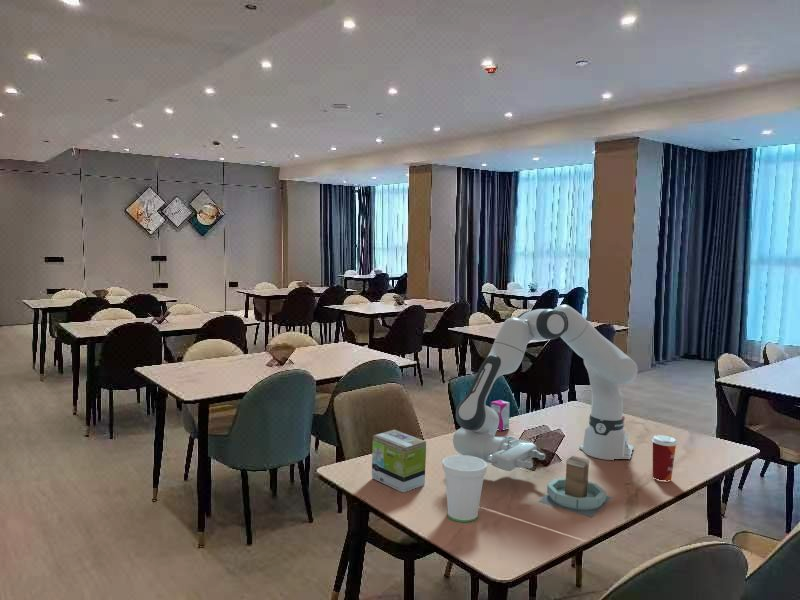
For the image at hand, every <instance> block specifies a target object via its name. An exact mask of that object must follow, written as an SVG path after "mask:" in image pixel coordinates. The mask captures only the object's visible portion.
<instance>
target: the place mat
mask: <svg viewBox="0 0 800 600" xmlns="http://www.w3.org/2000/svg"><path fill="white" fill-rule="evenodd" d="M612 498H613V497H612V496H609V495H606V500H605V501H604V502H603V503H602V506H601V507H600V508H598V509H595V510H574V509H569V508H566V507H563V506H560V505H558V504H556V503H555V502H553V501H552V500H551V499H550V495H549V494H548V493H547V494H546V495H545V496H544V497H542V498H541V499H540V500H539V501H538V503H541V504H545V505H548V506H551V507H555V508H558V509H561V510H564V511H568V512H571V513H575V514H579V515H581V516H584V517H588V518H593V517H594V516H595V515H596V514H597V513H598V512H600V510H601V509H602V508H603V507H604V506H605V505H606V504H607V503H608V502H609V501H610V500H611V499H612Z"/></svg>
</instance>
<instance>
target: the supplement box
mask: <svg viewBox="0 0 800 600" xmlns="http://www.w3.org/2000/svg"><path fill="white" fill-rule="evenodd" d="M490 408H492V409H494V410H495V411H496V412H497V413H498V415H499V420H500V422H499V426H498V429H499V430H503V429H506V428H509V429H510V402H509V401H505V400H502V399H498V400H494V401H490Z"/></svg>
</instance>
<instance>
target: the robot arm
mask: <svg viewBox="0 0 800 600" xmlns="http://www.w3.org/2000/svg"><path fill="white" fill-rule="evenodd" d="M558 338H560V339H562V340H563V342H565V343H566V344H567V346H569V348H570V349H571V350H572V351H573V352H574V353H575V354H576V355H577V356H579V357H580V358H582V360H583V365H584V366H585V367H584V368H585V369H586V370H587V371H586V372H587V373H588V378H589V385H590V390H591V392H590V393H591V407H590V414H589V417H588V418H589V419H588V421H589V422H588V423H589V425H588V426H586V427H585V428H584V433H583V434H584V435H583V443H581V444H580V445H579V446H578V447H579V450H582V452H583V453H585V454H586V455H588V456H589V457H592V458H596V459H600V460H606V461H615V460H614V459H629V458H631V459H632V456H631V454H632V455H633V452H632V450H633V451H634V446H633V445H632V444H629V443H628V442H629V441H628V437H629V435H628V433H627V432H626V429H625V428H624V427H625V426H624V425H625V418H626V417H625V415H624V414H623V410H624V396H623V393H622V392H621V390H620V386H619V385H628V384H629V385H630V383H633V381H635V379H636V378H637V375H638V372H639V371H638V370H639V369H638V365H637V363H636V361H635V360H633V359H632V358H631V357H630V356H629V355H627V354H626V353H624V351H622V350H621V349H620V348H619V347H618V346H616V344H614V343H612V342H611V341H610V340H609V339H607V338H606V337H605V336H604V335H603V334H601V333H600V331H598V329H596V327H594V325H592V324H591V323H590V322H589V320H588V319H587V318H586V317H584V316H583V315H582V314H581V313H579V311H577V310H576V309H575V308H573V307H572V306H570V305H569V304H560V305H557V306H556V307H554V308H537V309H533V310H527V311H524V312H522V313H520V314H519V315H518V316H517V317H509V318H507V319H505V320H504V322H503V324H501V326H500V328H499V330H498V333H497V335H496V336H495V339H494V341H493V344H492V346H491V348H490V352H489V353H488V355H487V357H486V358H485V359H484V360H483V362H482V363H481V365H480V367H479V369H478V371H477V373H476V375H475V377H474V379H473V382H472V384H471V385H470V388H469V389H468V392H467V393H466V395H465V396H464V397H463V399H462V400H461V401H460V402H459V404H458V405H457V407H456V410H455V419H456V423H457V424H458V425H459V426H460V428H459V429H456V430H455V431H454V433H453V436H452V443H453V448H454V449H455V451H456V452H457V453H458V454H460V455H468V456H473V457H478V458H480V459H482V460H484V461H485V462H486V463H488V464H491V466H493V467H495V468H497V469H500V470H503V471H507V472H511V471H513V470H514V469H516V468H520V469H521V468H526V469H529V470H530V469H532V468H533V466H534V463H533V461H530V460H531V459H532V458H537V460H540V461H544V460H545V459H546V454H545V453H542V452H540V451H538V449H537V448H538V447H537V445H536V444H535V443H534V442H530V441H527V440H523V439H519V438H516V437H515V436H512V435H508V436H496V434H497V432H498V431H497V429H498V426H499V422H500V420H499V415H498V413H497V412H496V411H495V410H494V409H492V408H491V406H489V405H486V401H487V398H488V396H489V395H490V392H491V390H492V388H493V385H494V383H495V381H497V379H498V378H499V377H501V376H503V375H509V374H512V373H514V372H516V371H517V370H518V368H519V367H520V365H521V363H522V361H523V359H524V356H525V353H526V350H527V347H528V346H527V345H528V344H529V343H530V341H540V342H542V341H546V340H550V341H551V340H555V339H558Z"/></svg>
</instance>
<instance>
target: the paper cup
mask: <svg viewBox="0 0 800 600" xmlns="http://www.w3.org/2000/svg"><path fill="white" fill-rule="evenodd" d="M651 442H652V478H653V477H654V478H656V479H659V480H666V481H668V480H671V481H672V475H673V469H674V462H675V461H674V460H675V457H676V456H675V454H676V446H677V445H678V443H677V440H676V439H675V437H671V436H668V435H662V434H661V435H654V436H653V438H652V439H651Z"/></svg>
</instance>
